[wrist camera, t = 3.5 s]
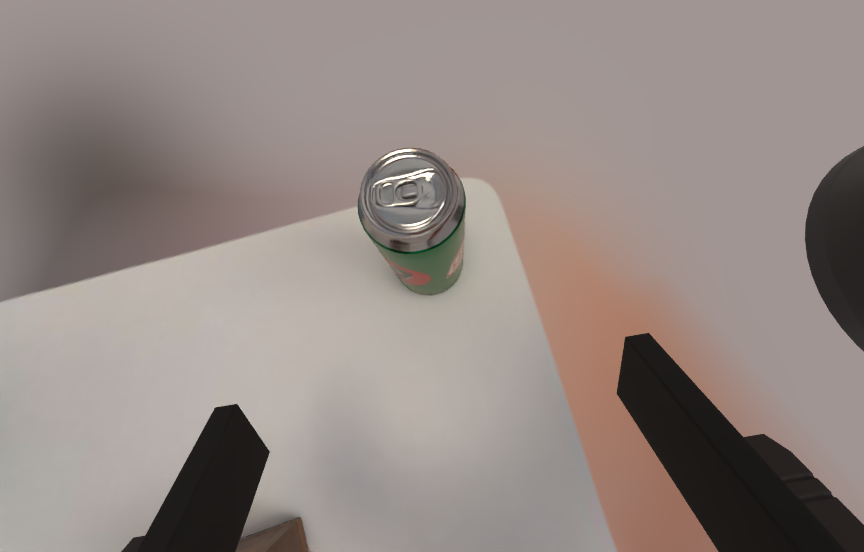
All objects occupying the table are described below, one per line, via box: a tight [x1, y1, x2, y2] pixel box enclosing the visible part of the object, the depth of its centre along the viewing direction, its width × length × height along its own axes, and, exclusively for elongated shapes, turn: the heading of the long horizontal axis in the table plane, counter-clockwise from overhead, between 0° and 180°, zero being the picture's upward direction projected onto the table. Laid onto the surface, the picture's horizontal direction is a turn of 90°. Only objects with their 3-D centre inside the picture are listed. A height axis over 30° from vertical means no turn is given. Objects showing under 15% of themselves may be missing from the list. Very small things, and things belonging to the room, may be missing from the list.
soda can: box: [358, 148, 466, 295], centre depth 21 cm, size 5×5×12 cm
